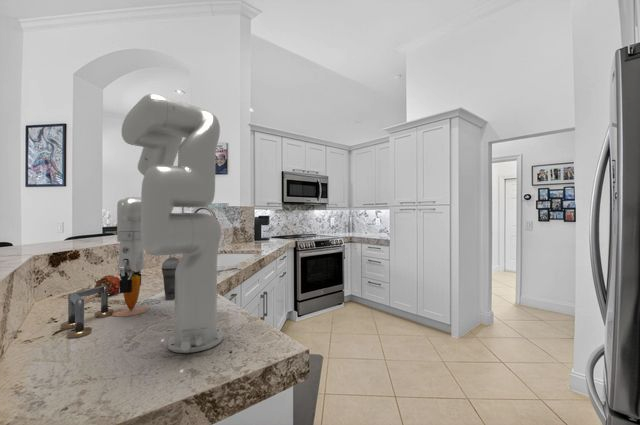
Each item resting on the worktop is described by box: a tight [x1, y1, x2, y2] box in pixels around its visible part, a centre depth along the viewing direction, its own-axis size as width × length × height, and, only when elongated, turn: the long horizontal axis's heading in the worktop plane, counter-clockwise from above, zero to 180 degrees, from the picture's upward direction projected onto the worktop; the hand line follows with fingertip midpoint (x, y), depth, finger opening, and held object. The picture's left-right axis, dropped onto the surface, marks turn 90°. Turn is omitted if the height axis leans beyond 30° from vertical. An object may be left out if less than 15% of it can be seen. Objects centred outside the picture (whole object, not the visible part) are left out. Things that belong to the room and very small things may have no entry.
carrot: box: [122, 271, 141, 310], centre depth 94 cm, size 5×5×15 cm
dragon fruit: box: [93, 274, 120, 295], centre depth 116 cm, size 8×8×12 cm
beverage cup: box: [160, 254, 180, 301], centre depth 110 cm, size 7×7×20 cm
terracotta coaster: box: [111, 304, 150, 318], centre depth 94 cm, size 10×10×1 cm
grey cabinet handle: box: [60, 285, 115, 339], centre depth 83 cm, size 21×10×9 cm, turn 18°
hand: (131, 288), depth 94 cm, fingers open, 9 cm apart
